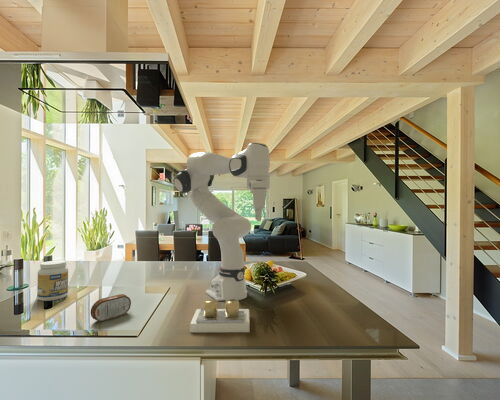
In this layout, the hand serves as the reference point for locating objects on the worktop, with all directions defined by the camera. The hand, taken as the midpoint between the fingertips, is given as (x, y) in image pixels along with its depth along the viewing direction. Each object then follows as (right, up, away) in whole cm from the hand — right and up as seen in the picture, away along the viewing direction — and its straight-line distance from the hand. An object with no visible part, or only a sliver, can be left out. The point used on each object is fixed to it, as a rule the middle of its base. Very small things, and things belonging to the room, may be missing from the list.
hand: (258, 220), depth 110 cm
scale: (-14, -39, -2) cm, 42 cm away
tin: (-58, -39, +3) cm, 70 cm away
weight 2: (-10, -35, -4) cm, 37 cm away
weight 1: (-18, -35, -4) cm, 39 cm away
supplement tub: (-98, -39, +27) cm, 109 cm away
